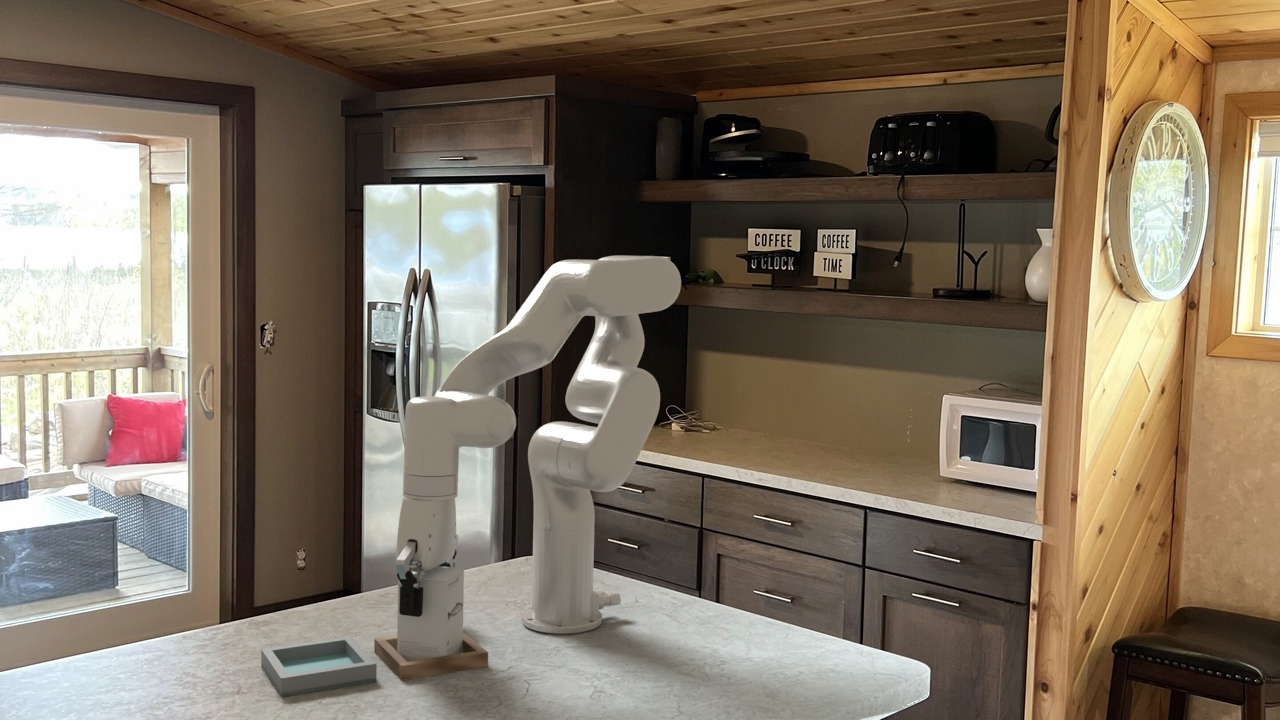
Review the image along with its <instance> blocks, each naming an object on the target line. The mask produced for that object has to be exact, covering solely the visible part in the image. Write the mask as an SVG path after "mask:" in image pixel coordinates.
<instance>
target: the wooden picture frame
mask: <svg viewBox="0 0 1280 720" xmlns="http://www.w3.org/2000/svg"><path fill="white" fill-rule="evenodd" d="M374 653H375V655H377V657H378V658H379V659H380V660H381V662H383V663H384V664H385V665H386V666H387V668H389V669H390V670H391V671H392V673H394V674H395V676H397V677H398V679H399V680H400V681H407V680H413V679H419V678H424V677H425V678H426V677H431V676H438V675H443V674H450V673H455V672H456V673H457V672H462V671H467V670H474V669H475V670H476V669H479V668H486V667H488V666H489V652H488V651H487V650H486V649H484V647H482V646H481V645H480V644H478V643H477V642H476V641H475V640H473V639H472V638H471V637H470V636H468V634H466V633H465V632H464V631H463V652H462V653H461V654H454V655H448V656H442V657H435V658H429V659H422V660H416V661H410V662H407V661H406V660H405V659H404V658H403V657H402V656H401V655H400V654H399V653H398V652H397V635H391V636H390V635H389V636H384V637H377V638H374Z"/></svg>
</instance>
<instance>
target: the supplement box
mask: <svg viewBox="0 0 1280 720" xmlns="http://www.w3.org/2000/svg"><path fill="white" fill-rule="evenodd" d="M464 570H465V568H463V567H456V566H455V567H442V566H437V567H435V568H433V569H431V570H429V571H425V574H424V577H423V580H422V583H421V585H420V587H423V612H422V615H421V616H420V617H415V616H407V615H401V614H400V613H399V608H400V586H399V579H398V578H397V624H396V625H397V632H396V633H397V652H398V653H399V654H400V655H401V656H402V657H403V658H404V659H405V660H406V661H407V662H410V661H416V660H422V659H429V658H435V657H442V656H448V655H454V654H461V653H462V652H463V632H464V601H465V600H464V598H465V597H464V596H465V595H464V594H465V593H464V588H465V587H464V585H465V573H464ZM412 573H413V575H414V577H416V575H417V572H413V571H412Z"/></svg>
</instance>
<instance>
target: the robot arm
mask: <svg viewBox="0 0 1280 720" xmlns="http://www.w3.org/2000/svg"><path fill="white" fill-rule="evenodd" d="M681 286H682V279H681V274H680V271H679V269H678V268H677V266H676V264H675V263H673V262H672V261H671V260H670V259H668V258H666V257H663V256H658V255H657V256H655V255H609V256H604V257H601V258H599V259H564V260H563V259H562V260H560V261H557V262H555V263H553V264H552V265H551V266H549V268H548V269H547V270H546V271H545V273H544V274H543V275H542V277H541V278H540V280H539V281H538V283H537V284H536V285H535V286H534V288H533V289H532V291H531V292H530V294H529V295H528V297H527V298H526V299H525V301H524V302H523V303H522V305H521V306H520V308H519V309H518V310H517V311H516V313H515V315H514V316H513V317H512V319H511V320H510V322H508V324H507V326H505V328H503V329H502V330H501V331H499V332H497V333H496V334H495V335H493V336H492V337H490V338H489V339H487V340H486V341H485V342H483V343H482V344H480V345H479V346H477V348H475V349H473V350H472V351H471V352H469V353H468V354H467V355H466V356H464V357H463V358H462V359H461V360H460V361H459V362H458V363H456V364H455V366H453V368H452V370H451V371H449V373H448V375H447V376H446V377H445V379H444V380H443V381H442V382H441V384H440V386H439V387H438V388H437V390H436V391H435V393H434V394H433V395H431V396H430V395H425V396H416V397H412V398H411V399H409V400H408V401H407V403H406V406H405V415H404V417H405V418H404V447H403V448H404V449H403V450H404V451H403V452H404V453H403V480H402V484H403V485H402V497H403V498H402V503H401V508H400V511H399V519H398V527H397V538H396V551H395V552H396V553H395V555H396V556H395V567H396V571H397V574H396V577H397V580H398V579H399V586H400V608H399V613H400V614H401V615H407V616H415V617H420V616H421V615H422V612H423V587H420V585H421V583H422V580H423V577H424V574H425V571H429V570H431V569H433V568H435V567H437V566H442V567H456V563H455V562H456V561H455V558H456V556H457V553H458V551H457V547H458V542H459V535H458V534H457V511H456V510H457V509H456V498H457V497H458V495H459V493H458V492H459V491H458V490H459V464H460V462H459V461H460V460H459V459H460V448H463V447H465V448H477V449H478V448H479V449H493V448H496V447H499V446H502V445H504V444H505V443H506V442H507V441H509V440H510V439H511V437H513V434H514V432H515V430H516V427H517V417H516V414H515V412H514V409H513V408H512V406H511V405H510V404H509V403H508V402H506V401H505V400H503V398H500V397H496V396H493V395H489V394H490V393H491V392H492V391H493V390H494V389H496V388H497V387H499V386H500V385H502V384H503V383H505V382H506V381H508V380H510V379H512V378H515V377H518V376H521V375H524V374H527V373H530V372H533V371H535V370H538V369H540V368H543V367H545V366H547V365H548V364H551V362H552V361H554V359H555V357H556V356H557V354H558V353H559V352H560V351H561V349H562V348H563V346H564V344H565V343H566V341H567V340H568V338H569V337H570V335H571V334H572V332H574V329H576V327H577V325H578V324H579V322H580V321H581V320H582V318H584V317H585V316H590V317H594V319H595V320H594V321H595V324H594V325H595V326H594V327H595V328H594V332H593V335H592V337H591V339H590V342H589V344H588V346H587V348H586V350H585V351H584V353H583V357H582V358H581V360H580V362H579V364H578V366H577V368H576V370H575V371H574V374H573V376H572V378H571V380H570V382H569V384H568V386H567V389H566V394H565V405H566V408H567V410H568V411H569V412H570V414H571V415H572V416H573V417H575V418H577V419H579V420H582V421H585V422H589V423H592V424H593V423H594V424H598V425H597V426H591V425H587V424H582V423H578V422H577V423H576V422H570V421H569V422H568V421H552V422H548V423H546V424H543V425H542V426H540V427H539V428H538V429H537V430H536V431H535V432H534V433H533V435H532V436H531V439H530V442H529V444H528V450H527V461H528V467H529V468H528V469H529V474H530V480H531V487H532V494H533V495H532V496H533V497H532V499H533V523H532V524H533V525H532V527H533V529H532V582H531V583H532V584H531V585H532V587H531V588H532V589H531V590H532V591H531V592H532V593H531V596H532V597H531V607H530V608H527V609H526V610H524V612H522V614H521V622H522V624H523V626H525V627H527V628H529V629H530V630H533V631H536V632H539V633H546V634H554V635H555V634H556V635H563V634H565V635H567V634H578V633H580V634H581V633H584V632H588V631H592V630H594V629H596V628H598V627H599V626H601V625H602V623H603V614H602V612H601V611H600V610H603V609H604V607H614V606H619V605H621V602H622V601H621V600H622V598H621V595H620V593H619V592H614V593H608V594H606V592H605V591H599V592H598V591H594V563H595V562H594V556H595V555H594V553H595V551H594V550H595V523H596V522H595V520H596V519H595V518H596V517H595V515H596V512H595V505H594V500H593V498H592V494H591V492H592V491H593V492H599V493H608V492H609V493H610V492H612V491H615V490H617V489H618V488H620V487H621V486H622V485H624V483H625V482H626V480H627V479H628V477H629V476H630V474H631V473H632V471H633V468H634V467H635V465H636V464H637V463H636V462H637V460H638V459H639V456H640V454H641V452H642V450H643V448H644V446H645V443H647V440H648V437H649V435H650V433H651V431H652V429H653V428H654V424H655V422H656V420H657V419H658V418H657V417H658V414H659V411H660V406H661V404H660V403H661V392H660V387H659V384H658V381H657V380H656V378H655V377H654V375H653V374H651V373H650V372H649V371H647V370H645V369H643V368H640V367H638V365H639V362H640V360H641V358H642V356H643V352H644V350H645V334H644V330H643V326H642V322H641V319H640V316H639V315H640V314H645V313H646V314H648V313H654V312H661V311H663V310H665V309H668V308H669V307H670V306H672V305H673V304H674V303H675V301H676V300H677V299H678V297H679V295H680V292H681V288H682V287H681ZM412 571H413V572H417V575H416V577H414V575H413V573H412Z"/></svg>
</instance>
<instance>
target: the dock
mask: <svg viewBox="0 0 1280 720" xmlns="http://www.w3.org/2000/svg"><path fill="white" fill-rule="evenodd" d="M260 653H261V654H260V659H261V660H260V661H261V662H260V665H261V666H260V667H261V668H262V670H263V672H264V673H265V675H266V676H267V677H268V679H269V681H270V682H271V684H272V686H273V687H274V689H275V690H276V692H277V694H278V695H279V696H280V698H285V697H291V696H292V697H293V696H298V695H304V694H309V693H310V694H311V693H315V692H321V691H329V690H334V689H340V688H347V687H353V686H360V685H365V684H371V683H376V682H377V665H378V664H377V662H376V661H375V660H374V659H373V658H372V657H371V656H370V655H369V654H368V653H367V652H366V651H365V649H364V648H363V647H362V646H361V645H360V644H359V643H358V642H357V641H356V640H355V639H354V637H352V636H350V635H349V636H343V637H337V638H336V637H335V638H331V639H330V638H327V639H322V640H314V641H309V642H307V641H306V642H301V643H293V644H287V645H279V646H273V647H265V648H261V649H260Z"/></svg>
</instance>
